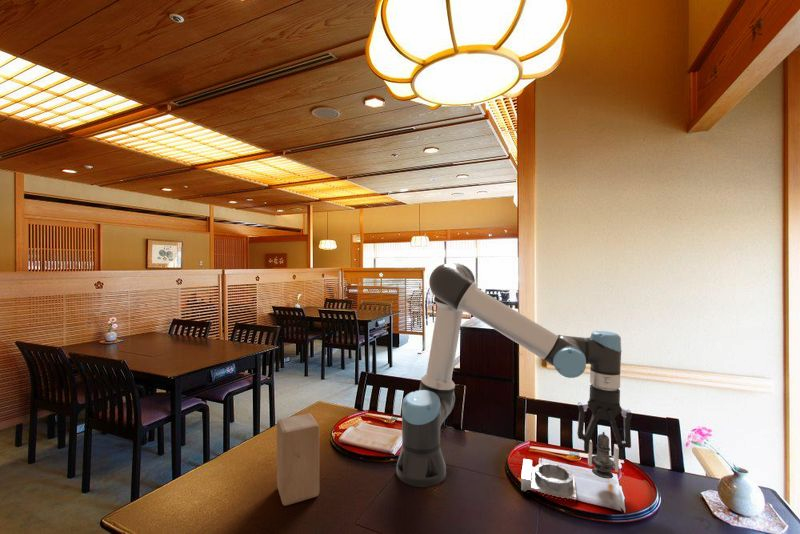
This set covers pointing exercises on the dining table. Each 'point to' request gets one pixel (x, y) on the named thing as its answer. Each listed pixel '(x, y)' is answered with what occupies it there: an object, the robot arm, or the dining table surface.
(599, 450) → the grey tall piece
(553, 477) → the mount
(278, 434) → the wooden block
